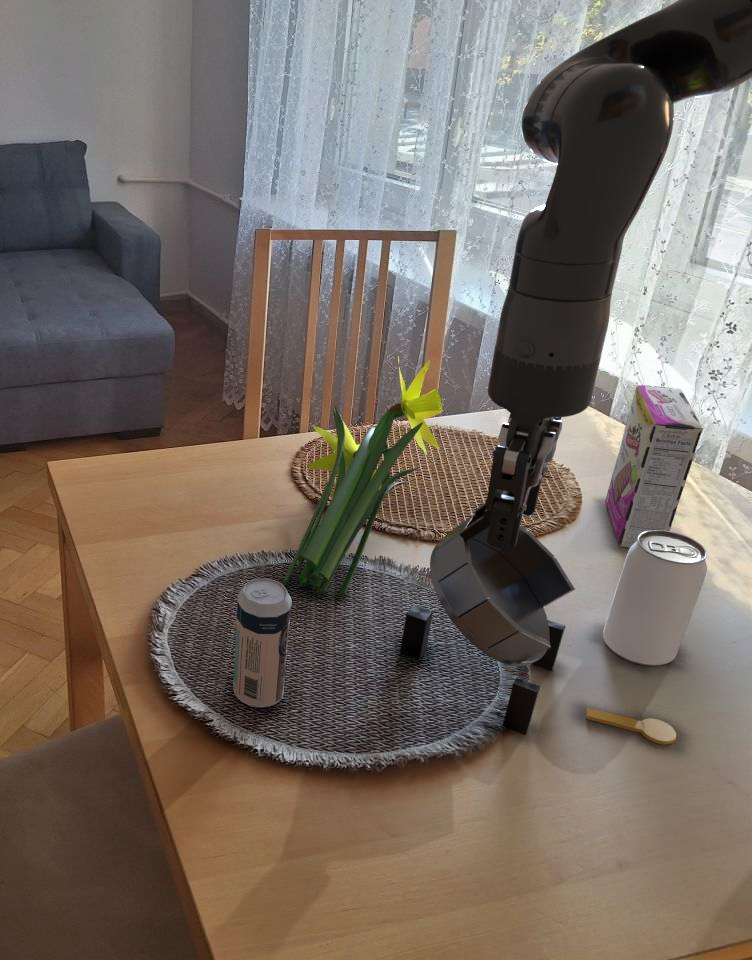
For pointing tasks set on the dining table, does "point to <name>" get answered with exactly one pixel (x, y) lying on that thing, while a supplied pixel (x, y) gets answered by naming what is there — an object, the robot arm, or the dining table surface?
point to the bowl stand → (522, 690)
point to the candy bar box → (652, 462)
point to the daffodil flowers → (358, 485)
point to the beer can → (261, 642)
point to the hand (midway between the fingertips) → (511, 527)
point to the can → (655, 597)
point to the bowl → (498, 589)
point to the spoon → (636, 725)
